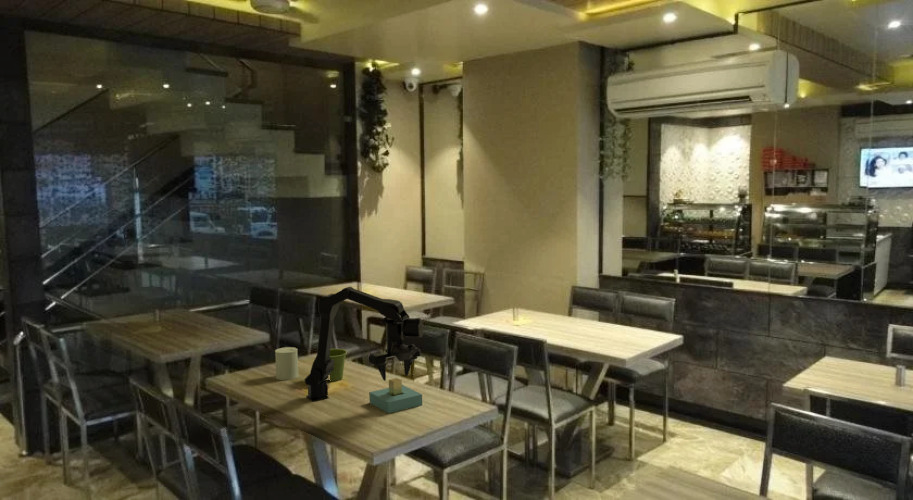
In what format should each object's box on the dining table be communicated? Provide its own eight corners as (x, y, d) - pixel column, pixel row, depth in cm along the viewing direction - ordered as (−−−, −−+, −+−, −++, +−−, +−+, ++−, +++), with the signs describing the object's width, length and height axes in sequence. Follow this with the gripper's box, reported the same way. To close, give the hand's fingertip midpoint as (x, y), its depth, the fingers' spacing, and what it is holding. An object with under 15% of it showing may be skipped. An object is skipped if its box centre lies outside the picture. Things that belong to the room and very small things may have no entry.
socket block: (388, 413, 227) (388, 402, 227) (369, 402, 239) (369, 392, 238) (422, 405, 235) (422, 394, 235) (402, 395, 247) (402, 384, 246)
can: (295, 380, 267) (294, 351, 266) (273, 380, 268) (271, 351, 266) (301, 373, 277) (300, 345, 275) (279, 373, 277) (278, 346, 275)
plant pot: (314, 378, 269) (313, 351, 268) (339, 373, 276) (339, 347, 275) (326, 385, 260) (325, 357, 259) (353, 379, 267) (352, 352, 266)
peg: (394, 406, 235) (393, 381, 234) (389, 403, 237) (388, 379, 236) (402, 404, 237) (401, 380, 236) (397, 401, 239) (396, 377, 238)
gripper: (382, 344, 222) (384, 388, 224) (428, 336, 233) (429, 378, 235) (367, 338, 231) (368, 381, 233) (412, 330, 242) (412, 371, 244)
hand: (395, 378), depth 236 cm, fingers open, 9 cm apart
